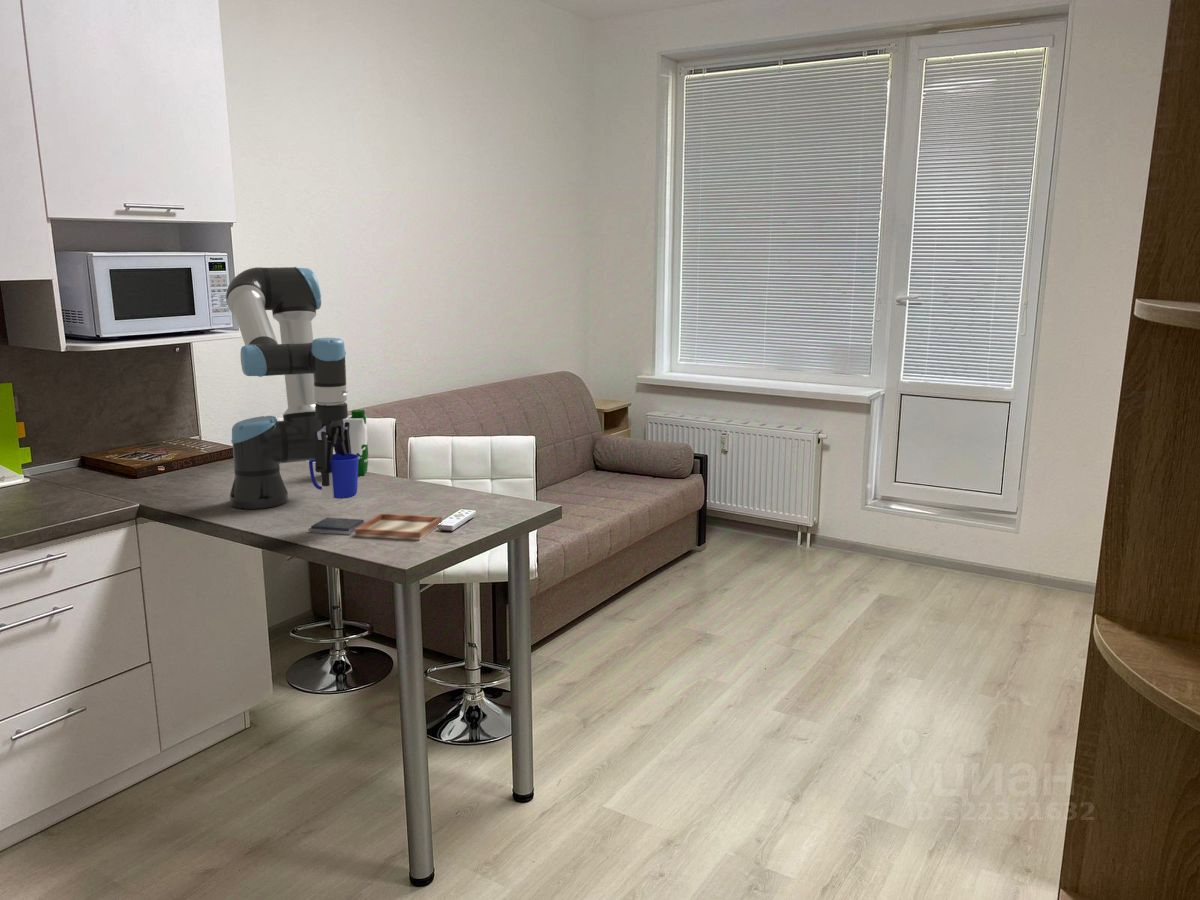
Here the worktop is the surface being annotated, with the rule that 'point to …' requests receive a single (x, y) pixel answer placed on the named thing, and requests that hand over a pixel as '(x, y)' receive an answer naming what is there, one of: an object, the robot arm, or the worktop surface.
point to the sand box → (398, 526)
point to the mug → (341, 475)
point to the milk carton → (359, 438)
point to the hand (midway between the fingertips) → (335, 494)
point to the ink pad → (336, 526)
